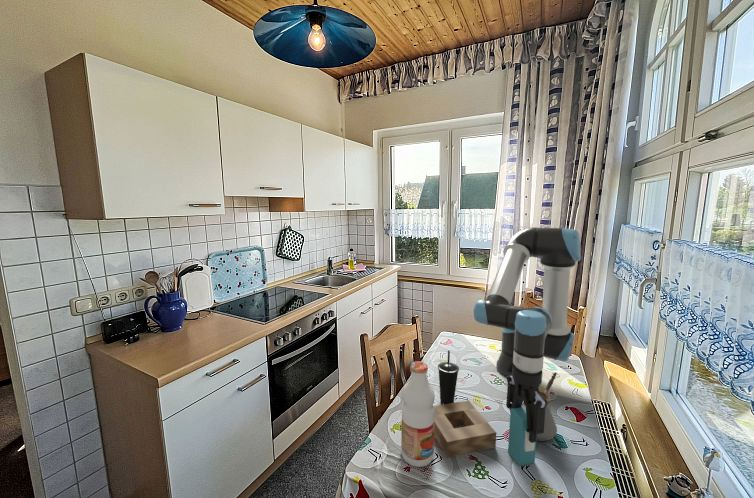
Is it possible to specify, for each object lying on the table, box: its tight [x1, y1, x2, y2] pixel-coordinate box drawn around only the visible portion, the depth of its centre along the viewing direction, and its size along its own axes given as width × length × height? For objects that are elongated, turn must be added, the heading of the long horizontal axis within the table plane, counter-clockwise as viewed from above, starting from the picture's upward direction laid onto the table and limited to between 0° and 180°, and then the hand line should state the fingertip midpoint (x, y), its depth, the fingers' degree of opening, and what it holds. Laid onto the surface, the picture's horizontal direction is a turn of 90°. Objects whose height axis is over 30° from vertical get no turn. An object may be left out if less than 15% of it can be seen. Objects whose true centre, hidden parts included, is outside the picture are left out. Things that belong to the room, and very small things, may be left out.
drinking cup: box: [437, 350, 460, 405], centre depth 114 cm, size 8×8×20 cm
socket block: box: [433, 400, 497, 458], centre depth 99 cm, size 16×16×5 cm
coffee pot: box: [536, 371, 560, 442], centre depth 102 cm, size 21×12×15 cm, turn 132°
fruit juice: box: [400, 360, 435, 468], centre depth 89 cm, size 9×9×28 cm
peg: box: [507, 405, 537, 467], centre depth 89 cm, size 5×5×14 cm
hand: (522, 442), depth 89 cm, fingers closed on peg, 5 cm apart
